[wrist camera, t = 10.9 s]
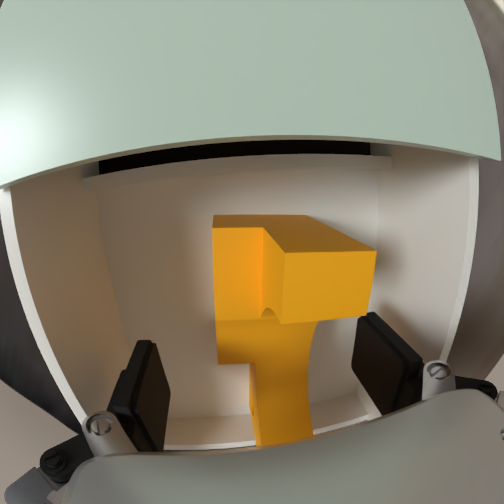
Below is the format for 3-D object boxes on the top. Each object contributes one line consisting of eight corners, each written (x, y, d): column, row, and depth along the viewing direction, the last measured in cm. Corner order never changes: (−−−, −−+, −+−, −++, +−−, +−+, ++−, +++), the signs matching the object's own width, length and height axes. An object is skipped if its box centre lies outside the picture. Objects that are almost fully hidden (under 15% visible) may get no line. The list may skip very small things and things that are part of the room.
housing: (337, -49, 9) (378, -101, 2) (358, 390, 18) (399, 457, 11) (111, -42, 7) (82, -100, 1) (153, 417, 16) (141, 497, 10)
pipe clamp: (213, 214, 13) (210, 254, 6) (305, 214, 13) (376, 250, 7) (221, 405, 16) (228, 489, 10) (287, 400, 16) (314, 478, 10)
